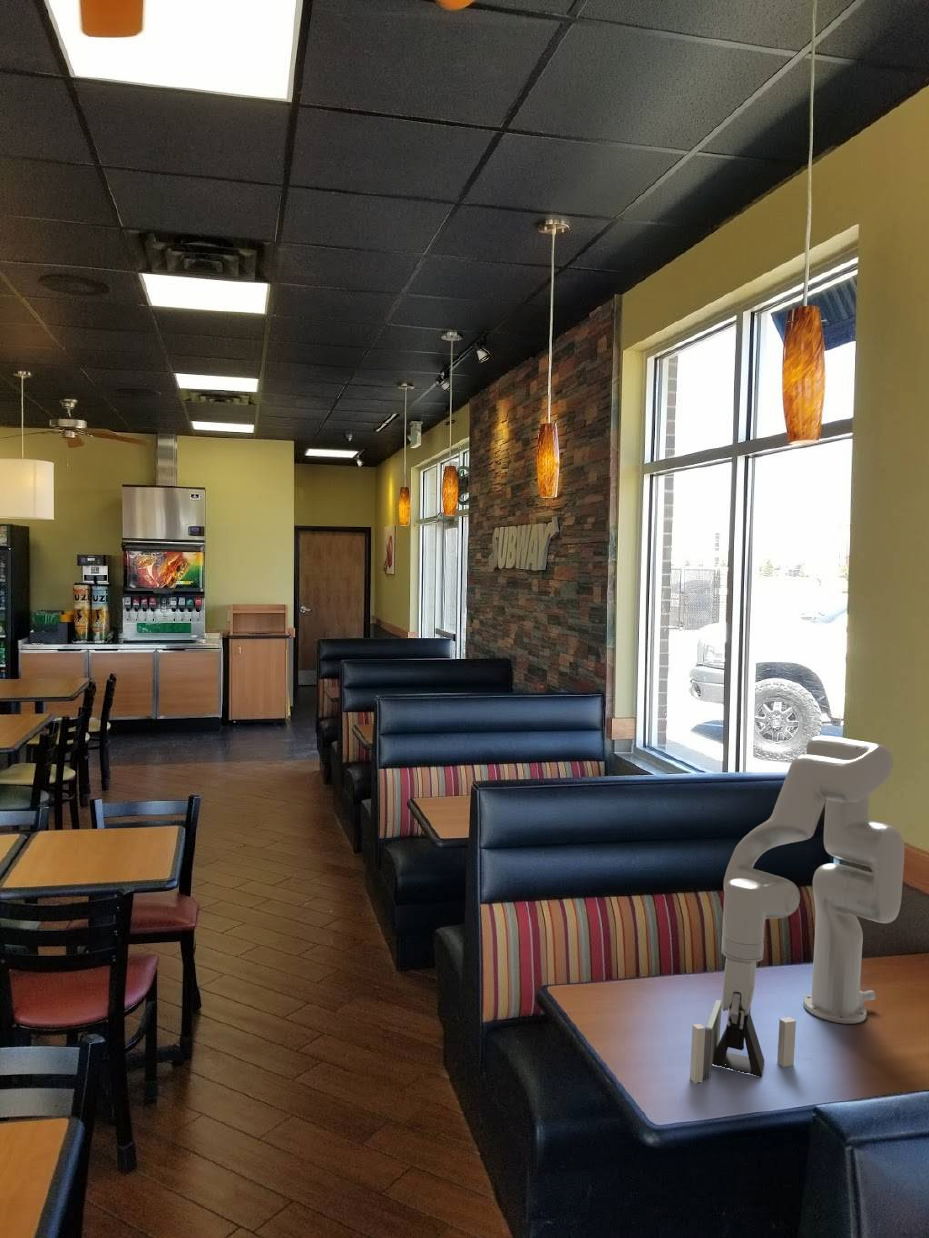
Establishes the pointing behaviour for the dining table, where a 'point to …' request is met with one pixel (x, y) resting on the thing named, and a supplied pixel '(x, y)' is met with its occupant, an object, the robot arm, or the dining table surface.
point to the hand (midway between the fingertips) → (737, 1036)
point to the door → (711, 1038)
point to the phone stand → (738, 1062)
